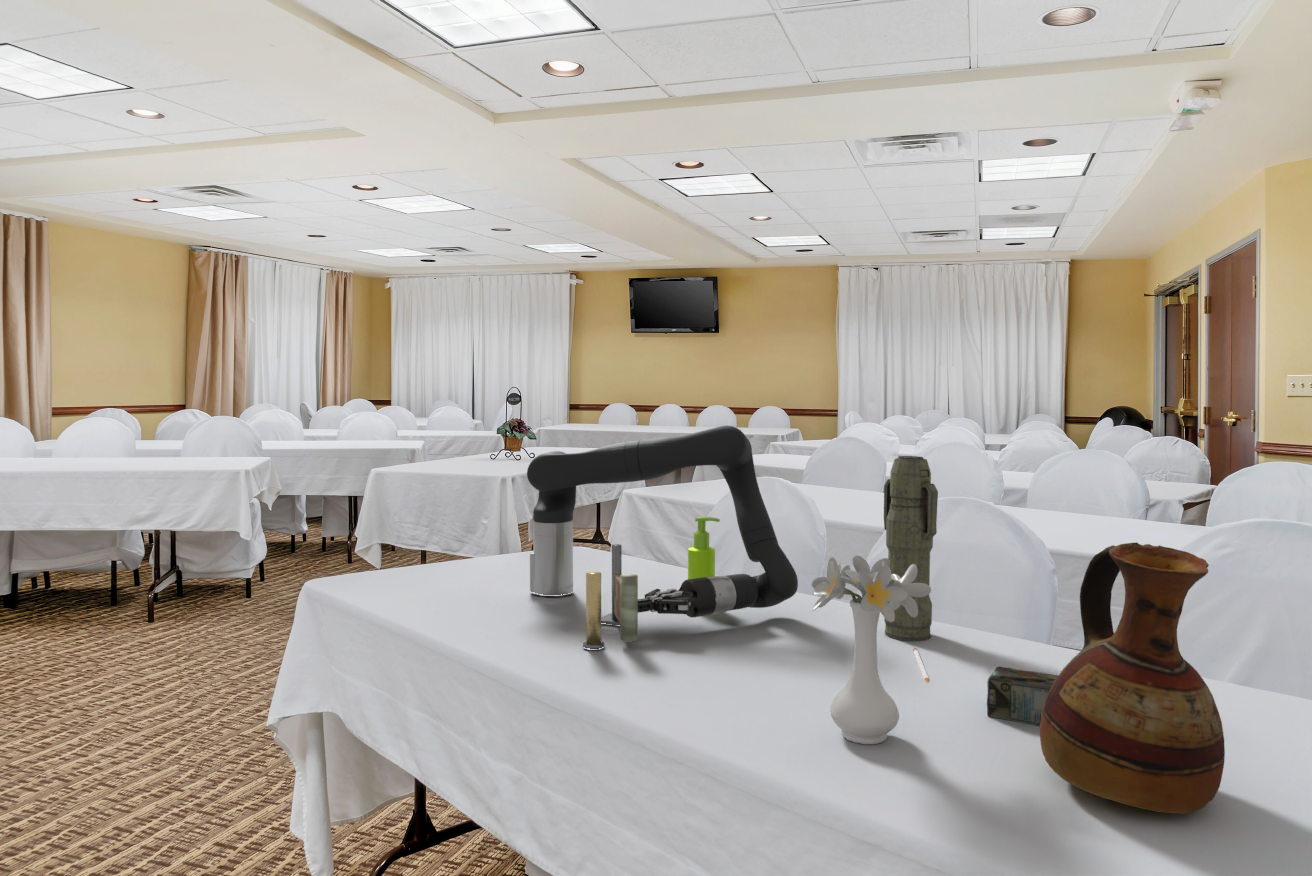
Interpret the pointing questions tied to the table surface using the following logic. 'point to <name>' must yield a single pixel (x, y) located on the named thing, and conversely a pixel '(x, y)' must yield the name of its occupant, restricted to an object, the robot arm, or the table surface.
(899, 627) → the thermos
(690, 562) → the soap dispenser
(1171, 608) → the ceramic pitcher
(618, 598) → the gate
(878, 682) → the flower vase
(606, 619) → the hinge post
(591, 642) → the post
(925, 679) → the pencil
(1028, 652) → the table surface
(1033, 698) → the beverage carton
